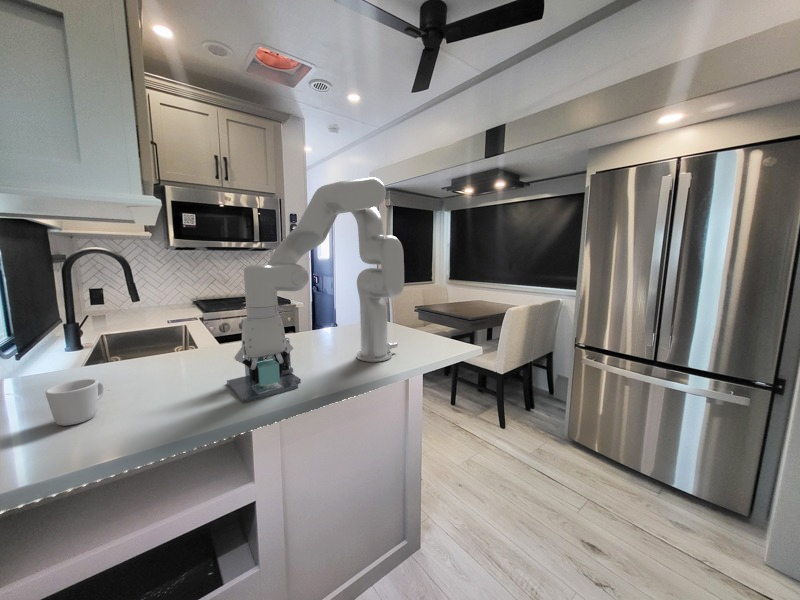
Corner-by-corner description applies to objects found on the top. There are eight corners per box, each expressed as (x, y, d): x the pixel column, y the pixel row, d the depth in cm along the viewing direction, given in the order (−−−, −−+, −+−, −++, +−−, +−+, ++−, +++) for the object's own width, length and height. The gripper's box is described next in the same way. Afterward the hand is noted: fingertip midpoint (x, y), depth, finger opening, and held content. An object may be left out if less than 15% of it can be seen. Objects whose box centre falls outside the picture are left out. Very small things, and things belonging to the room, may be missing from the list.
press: (283, 370, 100) (280, 314, 97) (305, 385, 88) (302, 322, 86) (226, 383, 89) (221, 321, 87) (243, 403, 77) (237, 332, 75)
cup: (86, 406, 76) (81, 374, 75) (121, 405, 77) (117, 373, 76) (39, 430, 66) (32, 394, 65) (80, 429, 66) (74, 392, 65)
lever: (289, 369, 97) (287, 337, 96) (293, 372, 95) (291, 339, 93) (279, 371, 95) (277, 339, 94) (283, 374, 93) (281, 341, 91)
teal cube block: (273, 376, 88) (272, 358, 87) (279, 381, 84) (278, 363, 83) (254, 380, 85) (253, 362, 84) (260, 386, 81) (259, 367, 80)
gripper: (289, 307, 90) (292, 368, 93) (222, 314, 79) (228, 383, 82) (300, 310, 84) (303, 375, 87) (230, 319, 73) (235, 393, 76)
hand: (266, 378), depth 84 cm, fingers closed on teal cube block, 5 cm apart
